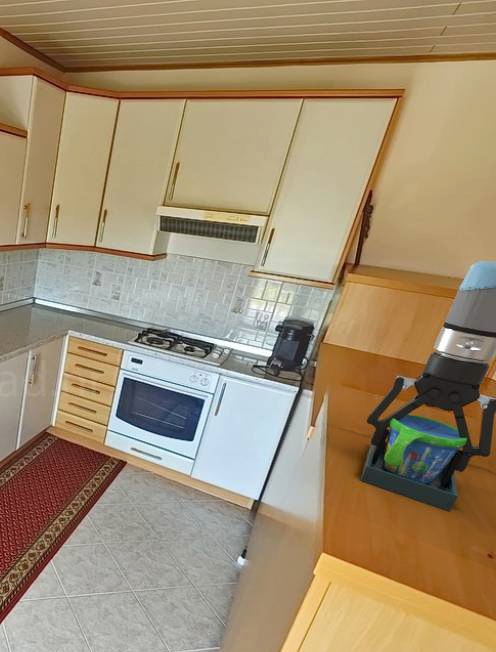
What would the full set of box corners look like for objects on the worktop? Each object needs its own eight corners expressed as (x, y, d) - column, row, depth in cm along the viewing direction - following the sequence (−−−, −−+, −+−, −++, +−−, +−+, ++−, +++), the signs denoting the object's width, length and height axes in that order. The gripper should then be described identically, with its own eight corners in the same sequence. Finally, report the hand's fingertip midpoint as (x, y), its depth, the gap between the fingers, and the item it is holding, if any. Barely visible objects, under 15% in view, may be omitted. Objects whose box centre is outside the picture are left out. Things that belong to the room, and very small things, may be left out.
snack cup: (409, 496, 82) (434, 442, 79) (348, 464, 92) (368, 415, 88) (465, 486, 88) (491, 436, 84) (402, 457, 97) (423, 411, 93)
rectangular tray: (446, 475, 93) (453, 461, 92) (450, 511, 80) (458, 496, 79) (368, 450, 100) (374, 437, 99) (360, 480, 87) (366, 466, 86)
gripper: (378, 343, 85) (333, 455, 93) (561, 380, 72) (491, 507, 80) (381, 337, 91) (338, 444, 99) (551, 371, 78) (487, 491, 86)
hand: (407, 472), depth 89 cm, fingers closed on snack cup, 9 cm apart
